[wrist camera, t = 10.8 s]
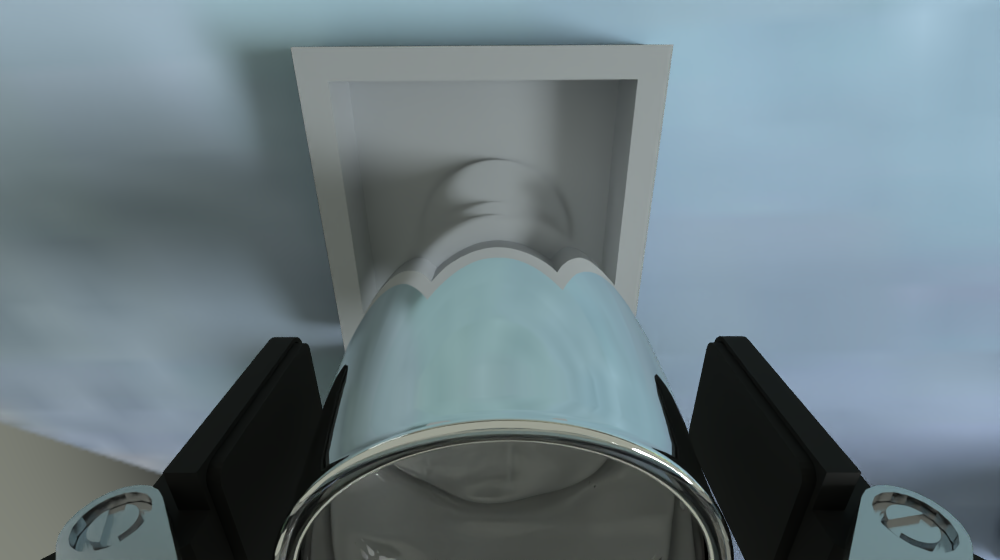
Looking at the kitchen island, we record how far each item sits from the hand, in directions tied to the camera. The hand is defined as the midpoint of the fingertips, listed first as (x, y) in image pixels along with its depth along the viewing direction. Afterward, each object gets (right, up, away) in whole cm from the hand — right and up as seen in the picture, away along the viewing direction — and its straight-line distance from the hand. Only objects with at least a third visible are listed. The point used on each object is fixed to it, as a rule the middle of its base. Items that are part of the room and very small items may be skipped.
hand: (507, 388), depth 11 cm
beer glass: (0, +5, +9) cm, 10 cm away
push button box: (-1, +1, +11) cm, 11 cm away
